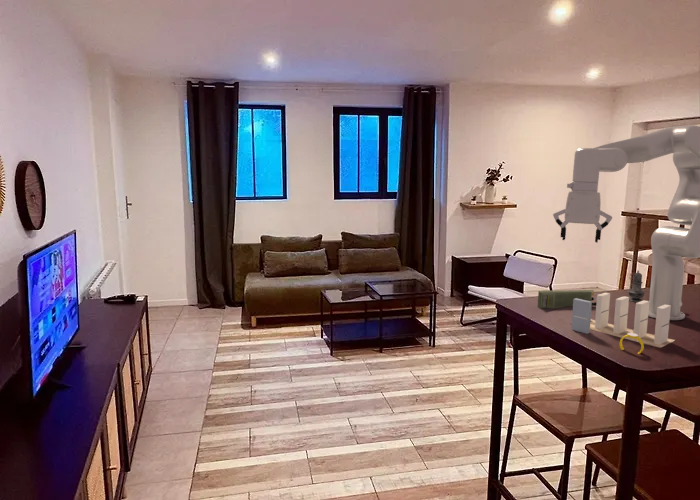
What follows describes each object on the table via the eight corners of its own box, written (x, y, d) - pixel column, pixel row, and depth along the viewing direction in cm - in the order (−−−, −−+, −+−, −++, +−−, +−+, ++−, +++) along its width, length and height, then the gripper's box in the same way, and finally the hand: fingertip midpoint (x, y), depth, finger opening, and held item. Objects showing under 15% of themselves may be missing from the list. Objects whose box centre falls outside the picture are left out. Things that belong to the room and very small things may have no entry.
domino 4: (632, 337, 153) (635, 303, 152) (640, 334, 156) (643, 300, 155) (638, 339, 152) (641, 304, 150) (646, 335, 155) (649, 301, 153)
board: (585, 320, 173) (586, 317, 173) (675, 342, 151) (675, 339, 151) (569, 326, 168) (569, 323, 167) (660, 350, 145) (660, 347, 145)
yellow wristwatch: (643, 356, 142) (646, 336, 141) (640, 358, 140) (643, 339, 139) (620, 349, 146) (623, 330, 145) (617, 351, 144) (620, 332, 143)
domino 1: (574, 330, 163) (576, 298, 161) (589, 335, 159) (591, 301, 157) (571, 331, 162) (573, 299, 160) (586, 336, 158) (589, 302, 156)
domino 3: (613, 332, 158) (615, 299, 156) (621, 329, 161) (623, 296, 159) (618, 334, 157) (621, 300, 155) (626, 330, 160) (629, 297, 158)
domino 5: (653, 343, 149) (656, 307, 147) (661, 339, 152) (664, 304, 150) (659, 344, 147) (663, 308, 145) (667, 340, 150) (671, 305, 148)
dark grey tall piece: (646, 302, 192) (649, 272, 190) (630, 302, 194) (632, 272, 192) (641, 298, 198) (643, 269, 196) (625, 298, 199) (627, 268, 197)
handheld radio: (536, 306, 191) (602, 305, 191) (539, 309, 188) (606, 308, 187) (537, 290, 190) (604, 288, 189) (540, 292, 186) (608, 291, 186)
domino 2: (594, 327, 163) (596, 295, 161) (602, 324, 166) (605, 292, 164) (599, 329, 162) (602, 296, 160) (607, 325, 165) (610, 293, 163)
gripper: (554, 187, 160) (550, 240, 162) (615, 189, 152) (610, 244, 155) (556, 186, 166) (552, 237, 169) (614, 188, 159) (609, 241, 162)
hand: (579, 240), depth 162 cm, fingers open, 9 cm apart
